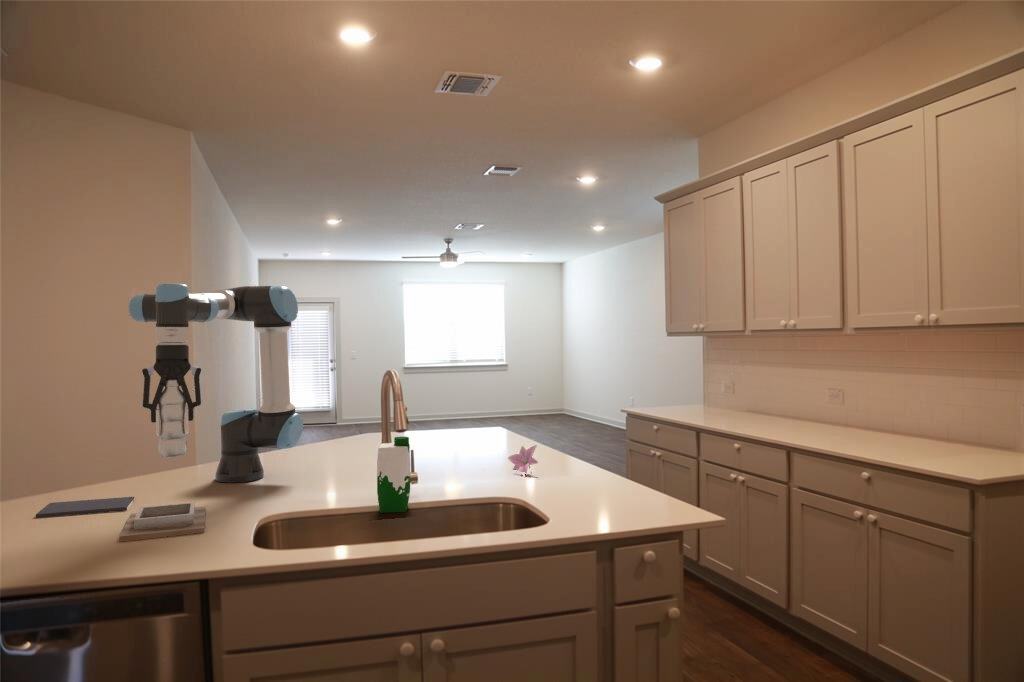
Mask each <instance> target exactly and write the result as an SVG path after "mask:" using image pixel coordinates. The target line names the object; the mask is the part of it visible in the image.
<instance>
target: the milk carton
mask: <svg viewBox="0 0 1024 682" xmlns="http://www.w3.org/2000/svg"><path fill="white" fill-rule="evenodd" d="M393 439H394V440H393V442H386V443H381V444H380V445H379V447H378V450H377V451H378V452H377V459H376V461H377V462H376V486H377V487H376V493H377V494H376V495H377V502H378V508H379V509H378V510H379V513H381V514H382V513H407V510H408V507H409V501H410V495H411V455H410V454H411V451H410V437H409V436H394V438H393Z"/></svg>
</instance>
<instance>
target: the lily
mask: <svg viewBox="0 0 1024 682" xmlns="http://www.w3.org/2000/svg"><path fill="white" fill-rule="evenodd" d="M536 448H537V444H536V445H532V446H531V447H529V448H528V449H526V448H525V446H524V445H521V448H520V449H519V453H516V454H512V455H510V456H508V457H507V459H508V460H509V462H510V463H512V464H514V466H513V468H512V470H517V471H516V472H518V471H519V472H525V473H526V474H527V472H528V469H530V468H531V466H532V465H537V464H538V463H539V462H538V460H537V459H536V458H534V457H533V455H534V453H535V451H536Z"/></svg>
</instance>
